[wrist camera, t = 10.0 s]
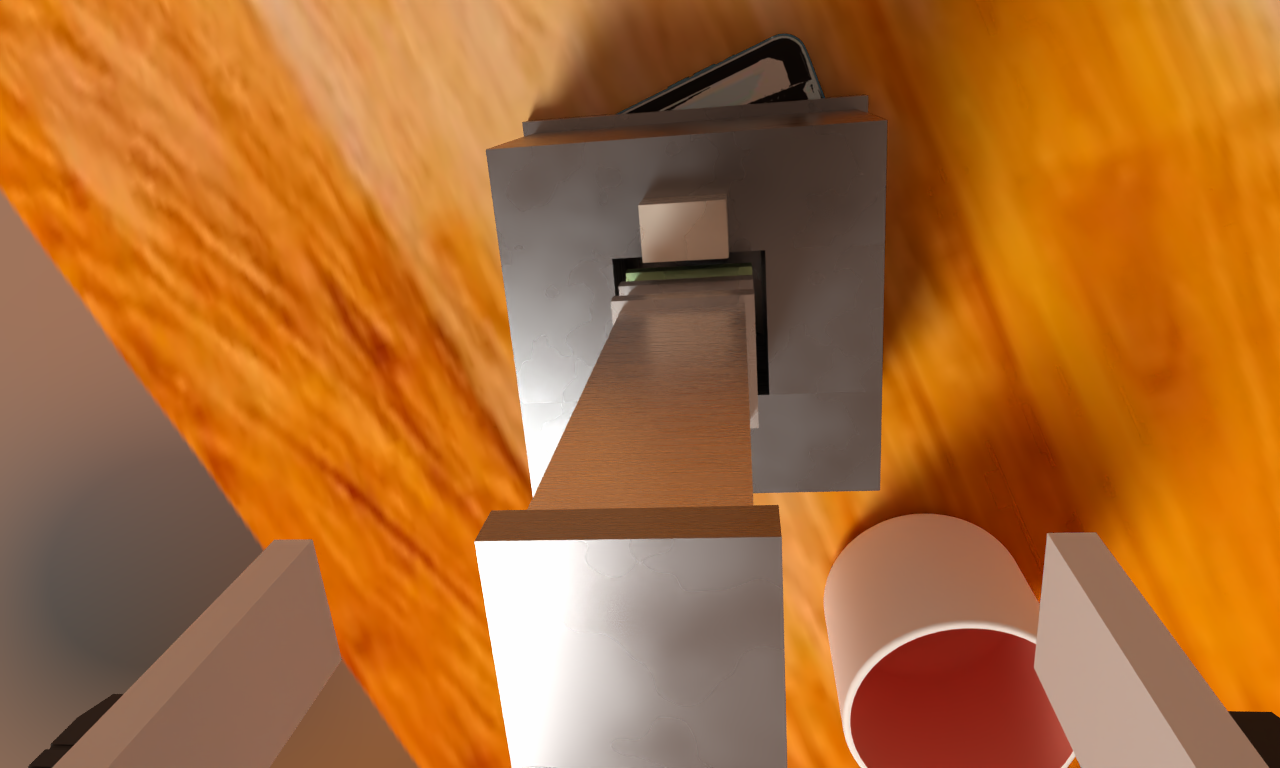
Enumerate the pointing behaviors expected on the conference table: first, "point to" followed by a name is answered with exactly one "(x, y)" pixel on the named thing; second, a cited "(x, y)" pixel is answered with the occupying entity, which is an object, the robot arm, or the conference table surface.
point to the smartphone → (744, 79)
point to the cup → (938, 650)
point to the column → (647, 551)
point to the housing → (709, 263)
